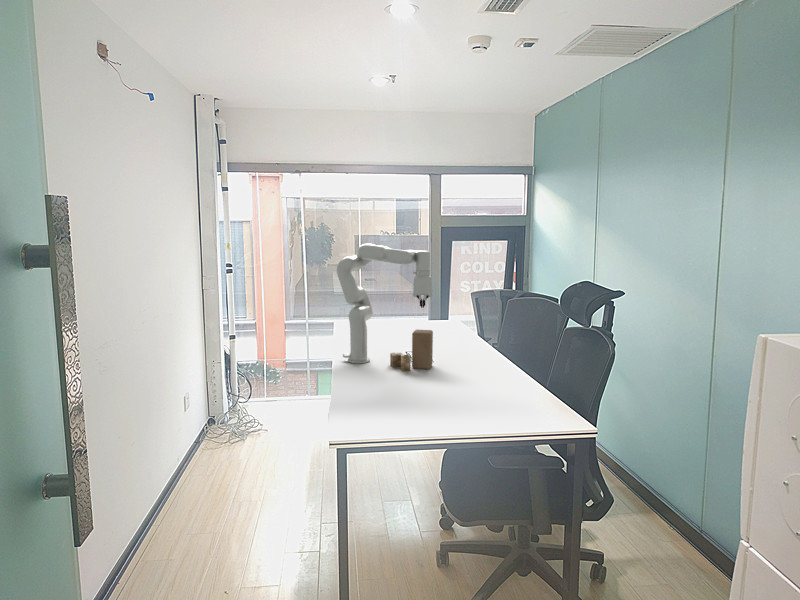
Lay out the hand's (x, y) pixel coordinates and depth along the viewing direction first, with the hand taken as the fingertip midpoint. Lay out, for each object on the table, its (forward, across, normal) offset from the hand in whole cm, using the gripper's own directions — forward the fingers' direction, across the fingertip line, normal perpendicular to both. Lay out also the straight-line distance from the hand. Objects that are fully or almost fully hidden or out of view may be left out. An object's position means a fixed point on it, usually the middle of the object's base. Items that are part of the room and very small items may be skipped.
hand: (422, 307), depth 304 cm
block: (+33, 0, 0) cm, 33 cm away
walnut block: (+33, -14, +1) cm, 36 cm away
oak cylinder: (+33, -9, -7) cm, 35 cm away
